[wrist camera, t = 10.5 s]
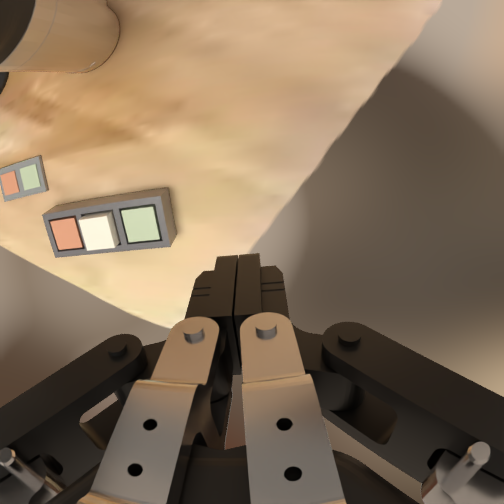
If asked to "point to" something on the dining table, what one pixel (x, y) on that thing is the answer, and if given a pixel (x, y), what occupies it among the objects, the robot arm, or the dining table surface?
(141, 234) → the key sage
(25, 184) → the tile
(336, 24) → the dining table surface
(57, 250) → the keypad
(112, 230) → the key cream
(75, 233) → the key terracotta
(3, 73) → the mug
